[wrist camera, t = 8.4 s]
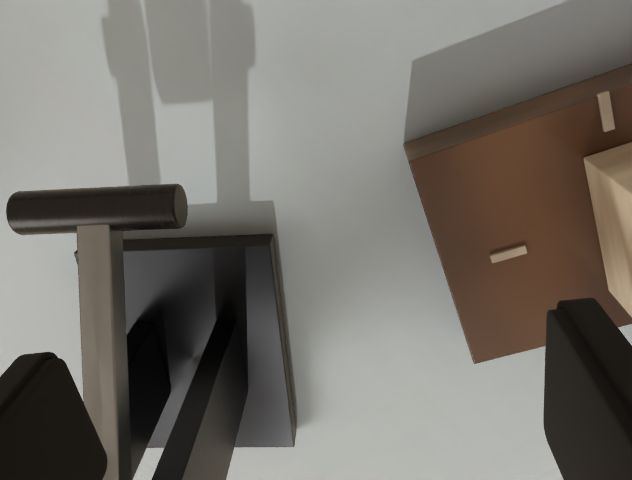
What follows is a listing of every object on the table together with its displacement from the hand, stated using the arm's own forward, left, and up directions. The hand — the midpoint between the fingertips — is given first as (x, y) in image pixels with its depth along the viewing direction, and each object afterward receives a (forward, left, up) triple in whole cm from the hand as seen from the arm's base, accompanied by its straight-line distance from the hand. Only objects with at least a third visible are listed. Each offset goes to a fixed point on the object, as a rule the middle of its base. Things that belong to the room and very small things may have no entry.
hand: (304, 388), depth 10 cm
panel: (-4, +11, -14) cm, 18 cm away
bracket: (+11, -2, -14) cm, 18 cm away
